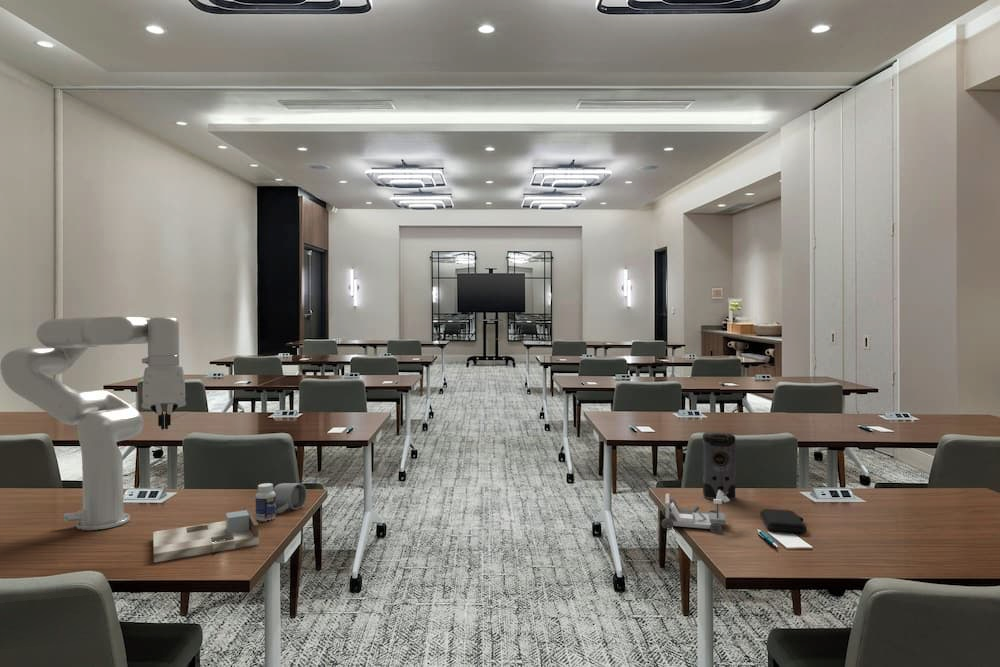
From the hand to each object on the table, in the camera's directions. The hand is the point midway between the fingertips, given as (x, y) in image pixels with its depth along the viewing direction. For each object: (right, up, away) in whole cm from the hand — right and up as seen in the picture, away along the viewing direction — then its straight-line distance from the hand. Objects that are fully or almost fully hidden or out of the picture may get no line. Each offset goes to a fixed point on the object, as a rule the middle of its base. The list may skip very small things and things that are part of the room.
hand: (164, 428), depth 167 cm
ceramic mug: (+28, -27, +16) cm, 42 cm away
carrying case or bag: (+170, -27, -2) cm, 172 cm away
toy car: (+146, -27, 0) cm, 149 cm away
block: (+24, -25, -8) cm, 35 cm away
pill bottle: (+25, -27, +7) cm, 38 cm away
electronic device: (+162, -26, +26) cm, 166 cm away
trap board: (+17, -27, -12) cm, 34 cm away
